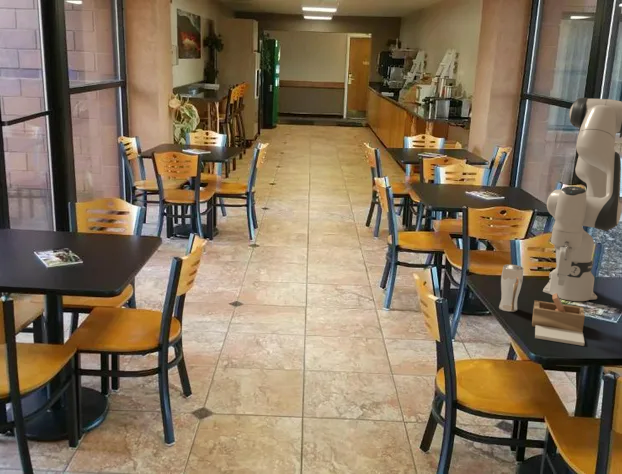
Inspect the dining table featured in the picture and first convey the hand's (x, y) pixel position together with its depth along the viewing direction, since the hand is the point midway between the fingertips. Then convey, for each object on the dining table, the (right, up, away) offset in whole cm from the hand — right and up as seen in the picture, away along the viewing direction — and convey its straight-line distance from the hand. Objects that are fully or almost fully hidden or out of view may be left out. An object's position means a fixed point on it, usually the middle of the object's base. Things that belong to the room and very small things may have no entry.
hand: (560, 280), depth 208 cm
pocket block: (0, -15, +3) cm, 15 cm away
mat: (-3, -17, -6) cm, 18 cm away
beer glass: (-12, -11, +17) cm, 23 cm away
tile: (+1, -10, +2) cm, 10 cm away
